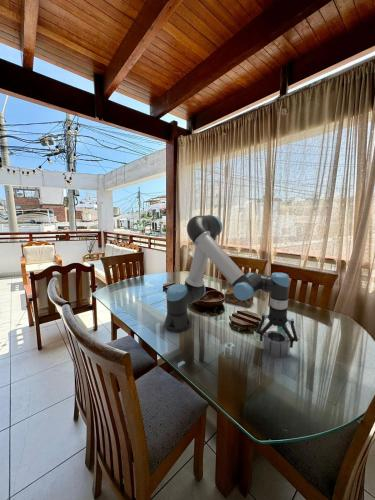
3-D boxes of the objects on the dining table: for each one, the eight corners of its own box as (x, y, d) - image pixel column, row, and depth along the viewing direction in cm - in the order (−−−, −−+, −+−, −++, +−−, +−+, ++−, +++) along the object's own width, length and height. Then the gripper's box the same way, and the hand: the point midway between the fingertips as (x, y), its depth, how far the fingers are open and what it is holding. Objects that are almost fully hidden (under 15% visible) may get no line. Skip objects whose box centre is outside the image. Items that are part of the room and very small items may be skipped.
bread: (253, 303, 155) (254, 289, 153) (249, 308, 146) (250, 294, 144) (229, 297, 165) (229, 285, 163) (223, 302, 156) (224, 289, 154)
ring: (274, 360, 96) (275, 345, 95) (258, 346, 106) (259, 333, 104) (292, 354, 100) (293, 340, 98) (275, 341, 109) (276, 329, 108)
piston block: (281, 344, 107) (282, 331, 106) (264, 332, 118) (265, 320, 117) (299, 339, 111) (300, 326, 110) (281, 327, 122) (282, 316, 121)
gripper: (251, 305, 100) (249, 348, 104) (307, 314, 91) (303, 361, 95) (253, 299, 107) (251, 340, 110) (306, 307, 97) (302, 351, 101)
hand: (275, 350), depth 102 cm, fingers open, 10 cm apart
